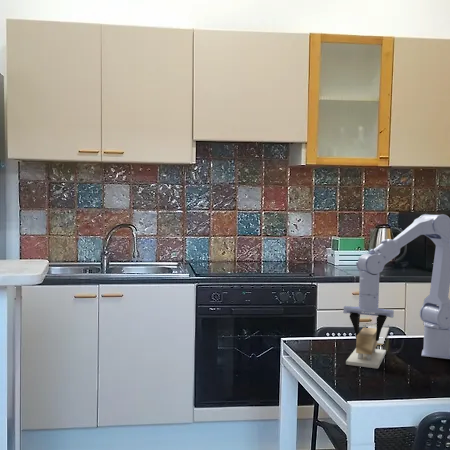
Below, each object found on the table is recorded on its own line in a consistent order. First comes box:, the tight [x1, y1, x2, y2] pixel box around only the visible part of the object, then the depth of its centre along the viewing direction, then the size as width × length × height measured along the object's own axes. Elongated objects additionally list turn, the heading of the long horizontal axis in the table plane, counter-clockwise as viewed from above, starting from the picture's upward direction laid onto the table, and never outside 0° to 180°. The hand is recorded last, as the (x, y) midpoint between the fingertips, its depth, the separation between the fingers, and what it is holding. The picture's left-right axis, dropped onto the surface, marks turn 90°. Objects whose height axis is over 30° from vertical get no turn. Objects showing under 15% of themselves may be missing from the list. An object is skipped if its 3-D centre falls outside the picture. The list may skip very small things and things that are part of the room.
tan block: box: [355, 326, 378, 355], centre depth 170 cm, size 4×14×5 cm, turn 158°
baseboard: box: [362, 322, 390, 346], centre depth 204 cm, size 30×3×10 cm
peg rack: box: [345, 347, 387, 369], centre depth 170 cm, size 9×20×3 cm, turn 158°
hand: (367, 339), depth 170 cm, fingers open, 5 cm apart
